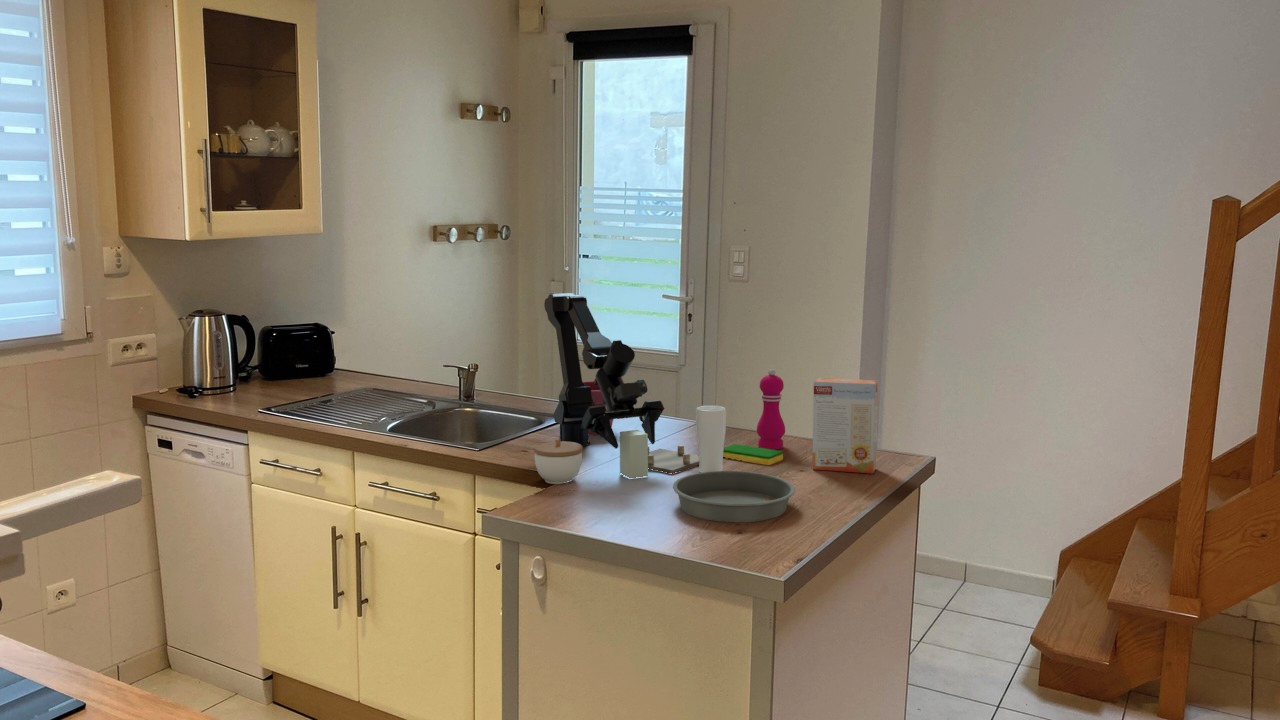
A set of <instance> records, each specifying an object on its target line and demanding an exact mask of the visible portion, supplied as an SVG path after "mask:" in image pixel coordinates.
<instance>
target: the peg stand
mask: <svg viewBox="0 0 1280 720" xmlns="http://www.w3.org/2000/svg"><path fill="white" fill-rule="evenodd" d="M697 465H699V455H697V454H692V453H686V452H685V445H682V444H679V445H677V450H676V451H675V450H671V449H664V448H657V449H653V450H650V446H648V468H649V469H653V470H658V471H663V472H667V473H666V474H668V473H672V474H671V475H674V474H673V473H675V472H678V473H680V472H679V471H681V472H684V471H687V470H689V469H688V468H690V469H692V467H693V468H696V467H698V466H697ZM695 466H696V467H695ZM686 469H687V470H686ZM683 470H684V471H683ZM675 474H676V473H675Z"/></svg>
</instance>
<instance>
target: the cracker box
mask: <svg viewBox="0 0 1280 720" xmlns="http://www.w3.org/2000/svg"><path fill="white" fill-rule="evenodd" d="M878 383H879V381H878V380H877V379H876V380H874V379H873V380H872V379H856V378H855V379H853V378H834V377H833V378H830V377H829V378H827V377H817V378H816V379H815V381H813V404H812V405H813V407H812V408H813V409H812V457H811V458H812V464H811V466H812V467H811V468H812V470H817V471H831V472H845V473H846V472H849V473H860V474H872V475H873V474H874V472H875V470H876V468H877V436H878V435H877V433H878V432H877V431H878V430H877V429H878V427H877V426H878V387H879V385H878Z"/></svg>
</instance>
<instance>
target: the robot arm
mask: <svg viewBox="0 0 1280 720" xmlns="http://www.w3.org/2000/svg"><path fill="white" fill-rule="evenodd" d="M543 303H544V310H545V312H546V314H547V320H548V321H549V322H550V324H551V325H552V326H553V328H554V329H555V331H556V339H557V347H558V355H559V360H560V368H561V374H562V382H563V383H562V384H563V385H562V387H561V390H560V392H559V394H558V403H557V406H556V408H555V410H554V412H553V419H554V422H555V423H557V424H559V439H560V441H566V442H574V443H578V444H580V445H582V448H584V447H586V446H588V445H591V442H590V441H589V435H588V430H590V431H591V432H595V433H597V434H598V435H597V436H599V437H600V438H603V440H605V441H606V442H607V443H608V444H609V445H610V446H612V447H613V448H614V449H616V450H617V449H618V448H619V443H618V440H617V437H616V435H615V433H614V431H613V428H612V427H613V426H612V427H611V425H610V419H613V420H624V419H631V418H632V419H633V418H639V421H640V422H641V424H640V425H641V428H642V430H643V431H644V433H647V434H648V442H650V444H652V445H654V444H655V443H656V432H655V431H656V427H655V426H656V422H658V420H659V418H660V417H661V414H662V413H663V411H664V410H665V406H664V404H663V402H662V401H661V400H659V399H653V400H652V399H651V400H645V401H644V402H643V403H642V406H641V407H635V406H636V405H637V403H638V398H640V397H641V398H642V397H643V395H645V394H647V393H648V385H647V383H646V381H645V379H636V381H634V382H626V383H625V382H624V380H623V377H624V376H626V374H627V373H628V371H629V369H630V367H631V365H632V363H633V361H634V359H635V358H636V357H635V356H636V355H635V354H636V353H635V351H634V350H633V349H632V348H631V347H630V346H629V345H627V344H625V343H623V342H622V340H621V339H617V340H616V339H615V340H612V341H611V339H609V338H608V337H606V336H605V335H603V334H602V333H601V331H600V328H599V327H598V325H597V322H596V321H595V318H594V317H593V314H592V312H591V310H590V309H589V306H588V301H587V298H586V296H585V295H582V294H575V293H573V292H562V293H550V294H549V295H548V296H547V298H545V300H544V302H543ZM576 332H577V333H578V335H579V338H580V340H581V342H582V345H583V348H582V352H581V355H582V360H583V364H584V365H585V367H586V368H587V369H588V370H597V371H596V374H595V378H594V380H593V381H594V385H599V387H600V390H601V393H602V395H603V399H602V403H603V404H606V406H607V408H608V411H606V408H605V406H603V405H602V406H594V402H593V400H592V395H591V389H590V387H586V385H585V384H584V383H583V382H584V381H583V378H582V377H583V376H582V371H581V364H580V362H581V361H580V357H579V356H580V355H579V347H578V342H577V341H578V339H577V334H576ZM634 405H635V406H634Z"/></svg>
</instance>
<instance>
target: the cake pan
mask: <svg viewBox="0 0 1280 720" xmlns="http://www.w3.org/2000/svg"><path fill="white" fill-rule="evenodd" d="M672 490H673V491H674V493H675V494H677V495H678V500H679V505H680V509H681V510H682V511H683V512H685V513H686V514H688V515H690V516H693V517H696V518H699V519H703V520H707V521H709V520H710V521H715V522H725V523H750V522H761V521H766V520H770V519H774V518H777V517H779V516H781V515H782V514H784V513H785V512H786V510H787V506H788V503H789V499H790V498H791V497H793V495H794V494H795V492H796V487H795V486H794V485H793V483H791V482H790V481H788V480H786V479H784V478H780V477H778V476H774V475H770V474H766V473H761V472H753V471H743V470H742V471H741V470H739V471H738V470H722V471H712V472H703V473H701V472H698V473H692V474H688V475H685V476H682V477H680V478H678V479H677V480H675V481H674V483H672Z"/></svg>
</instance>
